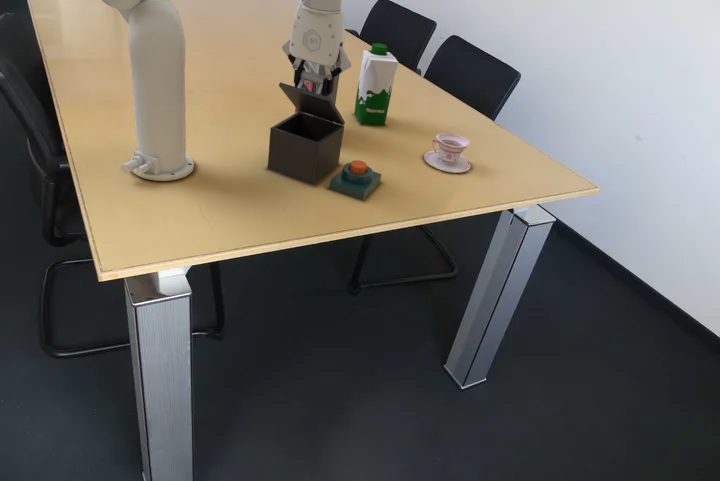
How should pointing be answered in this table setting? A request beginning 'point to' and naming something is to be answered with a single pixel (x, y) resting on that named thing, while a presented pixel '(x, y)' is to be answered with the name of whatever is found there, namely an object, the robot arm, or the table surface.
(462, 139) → the teacup
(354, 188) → the control block
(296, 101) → the lid
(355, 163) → the button
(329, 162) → the open dark grey box
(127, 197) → the table surface
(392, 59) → the milk carton
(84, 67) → the table surface
